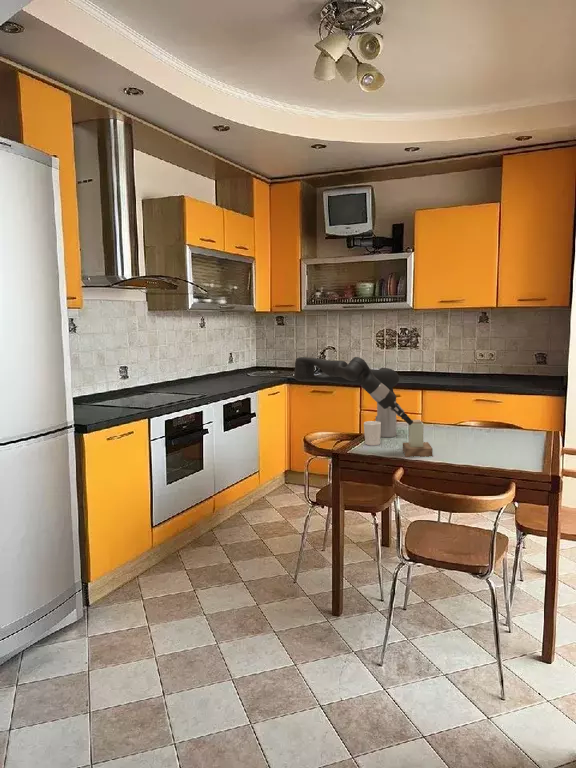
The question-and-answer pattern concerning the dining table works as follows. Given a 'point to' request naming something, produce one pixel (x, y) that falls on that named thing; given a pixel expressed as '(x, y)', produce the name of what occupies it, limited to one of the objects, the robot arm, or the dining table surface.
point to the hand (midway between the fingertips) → (409, 421)
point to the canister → (416, 434)
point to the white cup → (372, 432)
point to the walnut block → (417, 450)
